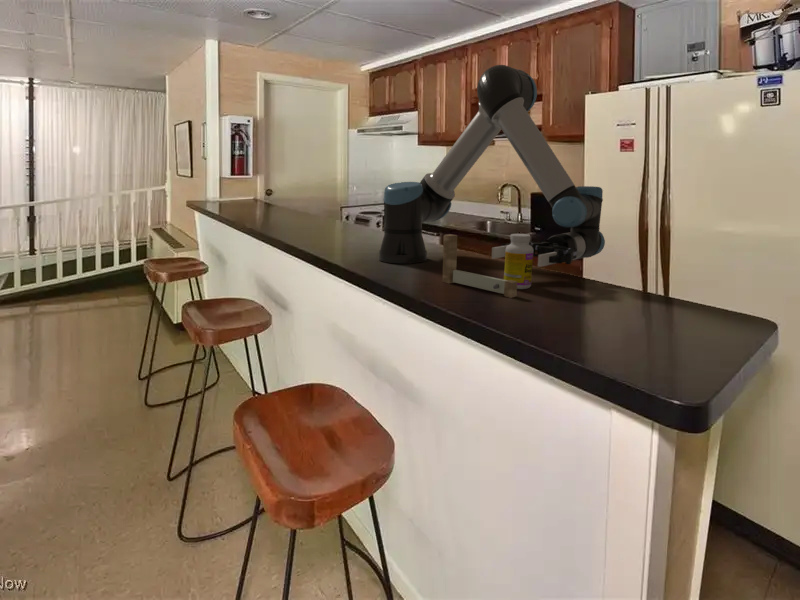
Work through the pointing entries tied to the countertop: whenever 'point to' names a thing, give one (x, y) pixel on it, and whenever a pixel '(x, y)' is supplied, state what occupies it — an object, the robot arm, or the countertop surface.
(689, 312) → the countertop surface
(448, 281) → the wooden post frame
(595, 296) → the countertop surface
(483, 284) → the bar
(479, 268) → the countertop surface
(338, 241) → the countertop surface
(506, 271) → the supplement bottle
